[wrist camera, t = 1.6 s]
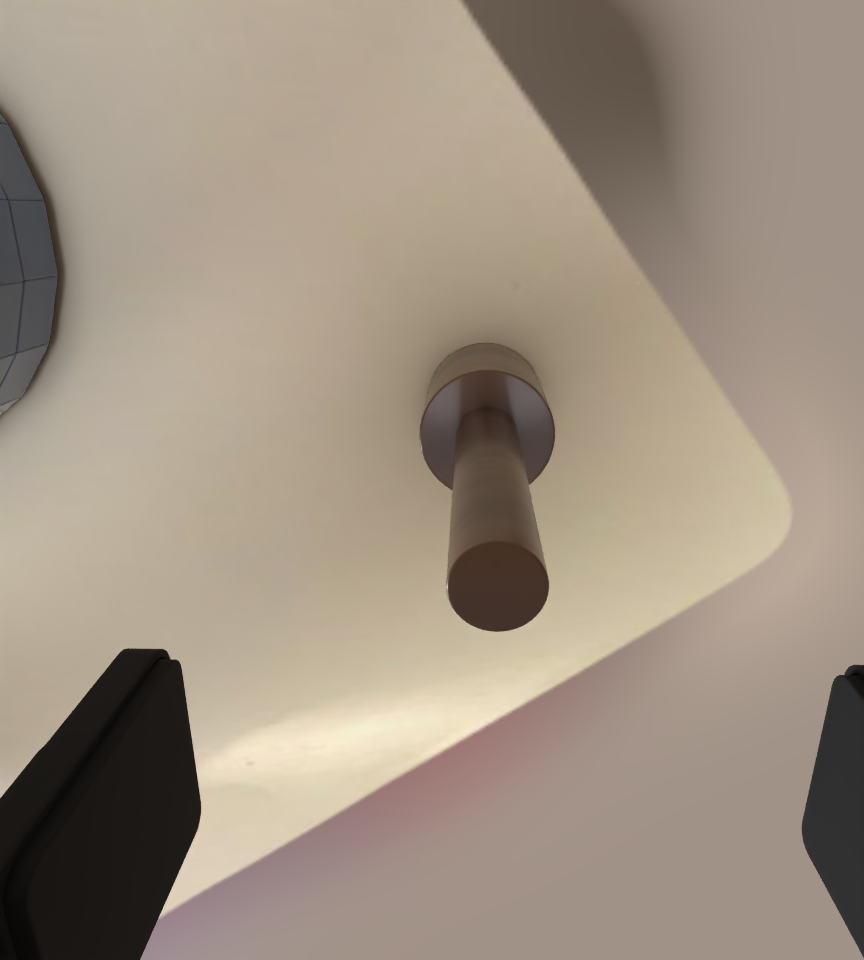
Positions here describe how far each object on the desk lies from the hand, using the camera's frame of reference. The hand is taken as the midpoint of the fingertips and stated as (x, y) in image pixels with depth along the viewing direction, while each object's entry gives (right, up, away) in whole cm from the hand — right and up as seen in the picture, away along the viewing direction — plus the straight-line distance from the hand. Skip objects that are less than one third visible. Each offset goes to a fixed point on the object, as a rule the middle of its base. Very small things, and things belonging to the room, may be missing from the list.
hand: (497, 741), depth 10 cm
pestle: (+1, +7, +18) cm, 19 cm away
